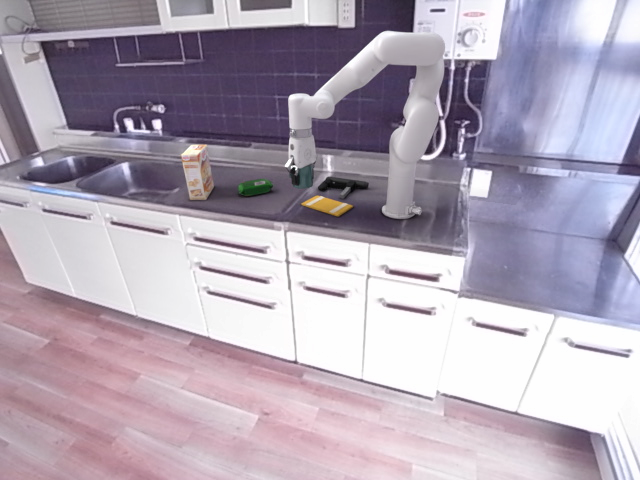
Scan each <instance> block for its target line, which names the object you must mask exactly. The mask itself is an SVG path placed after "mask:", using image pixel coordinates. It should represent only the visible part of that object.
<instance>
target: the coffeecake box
mask: <svg viewBox="0 0 640 480" xmlns="http://www.w3.org/2000/svg"><path fill="white" fill-rule="evenodd" d="M180 157H181V161H182V162H181V163H182V167H183V172H184V176H185V182H186V187H187V192H188V195H189V201H206V200H207V199H208V198H209V196H210V195H211V193H212V191H213V189H214V187H215V184H214V178H213V174H212V168H211V160H210V156H209V149H208V144H191V145H190V146H189V147H187V149H185V151H184V152H182V153H181V154H180Z"/></svg>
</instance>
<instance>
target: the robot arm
mask: <svg viewBox="0 0 640 480" xmlns="http://www.w3.org/2000/svg"><path fill="white" fill-rule="evenodd" d="M445 51H446V43H445V40H444V38H443V37H442V36H441V35H440V34H439V33H436V32H430V31H421V32H405V31H394V30H385V31H382V32H380V33H379V34H378V35H376V36H375V37H374V38H373V39H372V40H371V41H370V42H369V43H368V44H367V45H365V47H363V49H362V50H361V51H359V52H358V53H357V54H356V55H355V56H354V57H353V58H352V59H351V60H349V62H347V64H345V65H344V66H343V67H342V68H341V69H340V70H339V71H338V72H336V74H334V76H332V77H331V78H330V79H329V80H328V81H327V82H326V83H324V85H322V86H321V87H320V88H319V89H318V90H317V91H316V92H315V93H314V94H313V95H311V96H310V94H308V93H292V94H290V95H289V96H288V99H287V103H288V105H287V106H288V119H289V120H288V121H289V123H288V125H289V135H288V136H289V141H288V160H287V162H286V163H285V165H284V167H285V169H286V170H287V172H288V174H289V173H290V174H291V185H292V186H293V185H296V186H299V175H298V171H299V168H303V167H306V166H308V165H310V164H312V170H313V180H314V178H315V177H314V175H315V174H314V169H315V167H316V166H315V164H316V162H317V159H318V155H319V154H317V149H316V142H315V136H314V135H313V122H312V119H318V120H326V119H329V118H330V117H332V116H333V114H334V113H335V106H336V105H338V103H340V102H341V100H342V99H344V98H345V97H347V95H349V94H350V93H352V92H353V91H355V90H359V89H361V88H363V87H364V86H366V85H367V84H369V83H370V81H372V79H374V78H375V77H376V76H377V75H378V74H379V73H380V72H382V70H384V69H385V68H386V67H387V66H388V65H393V66H416V73H415V77H414V80H413V84H412V87H411V89H410V92H409V94H408V97H407V99H406V102H405V104H404V107H403V111H402V114H403V118H404V121H405V124H404V126H399V127H397V128H396V129H395V130H394V131H393V132H392V134H391V135H390V138H389V143H388V145H389V146H388V148H389V149H388V150H389V151H388V152H389V154H388V155H389V156H388V157H389V161H388V177H387V191H386V203H385V204H384V205H383V206H382V207H381V213H382V214H383V215H384V216H386V217H388V218H391V219H396V220H407V219H410V218H412V217H414V216H415V215H418V216H420V215H422V213H423V210H422V207H421V206H417V205H416V201H414V192H415V182H416V174H417V163H418V161H420V160H421V158H422V157H423V156H424V155H425V153H426V151H427V149H428V147H429V144H430V142H431V140H432V137H433V135H434V132H435V130H436V129H437V125H438V123H439V119H440V118H439V117H440V116H439V115H440V111H439V108H438V105H437V104H436V100H437V97H438V95H439V92H440V89H441V86H442V84H443V80H444V76H445V60H444V55H445ZM294 168H296V170H295V171H294Z"/></svg>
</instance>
